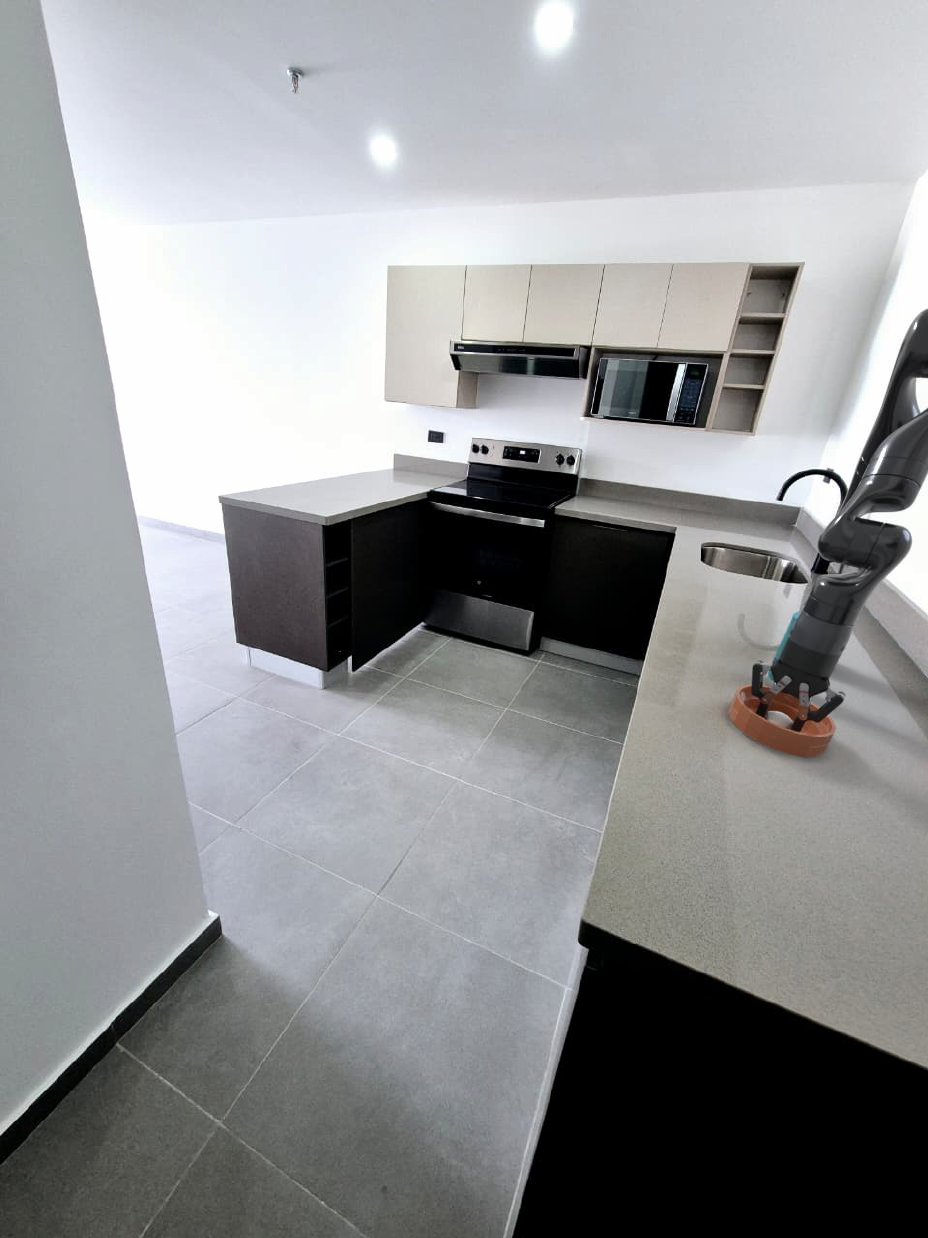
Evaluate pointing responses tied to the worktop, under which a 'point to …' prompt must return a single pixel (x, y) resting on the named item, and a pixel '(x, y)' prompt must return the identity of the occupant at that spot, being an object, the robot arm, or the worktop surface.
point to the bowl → (777, 737)
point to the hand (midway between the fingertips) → (775, 726)
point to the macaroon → (779, 719)
